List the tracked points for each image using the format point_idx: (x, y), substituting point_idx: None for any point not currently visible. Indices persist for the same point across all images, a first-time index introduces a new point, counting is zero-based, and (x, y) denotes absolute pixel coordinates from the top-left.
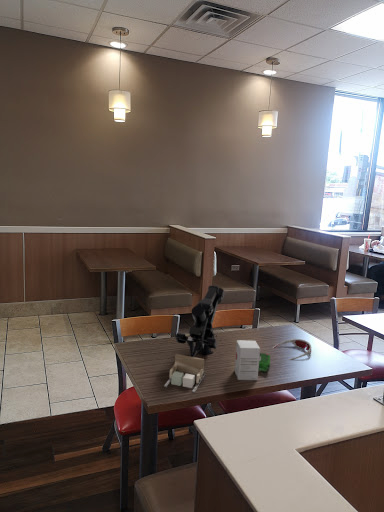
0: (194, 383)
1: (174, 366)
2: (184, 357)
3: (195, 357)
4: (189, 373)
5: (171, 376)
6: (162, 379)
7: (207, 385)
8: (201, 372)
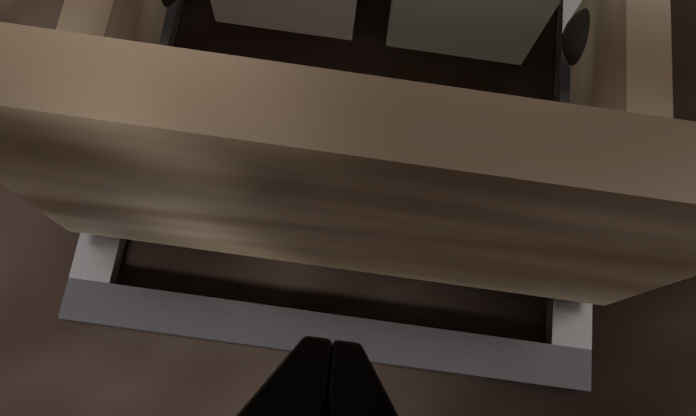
0: (215, 13)
1: (641, 106)
2: (525, 109)
3: (176, 131)
4: (339, 316)
5: (582, 4)
6: (682, 42)
7: (21, 14)
8: (68, 10)
